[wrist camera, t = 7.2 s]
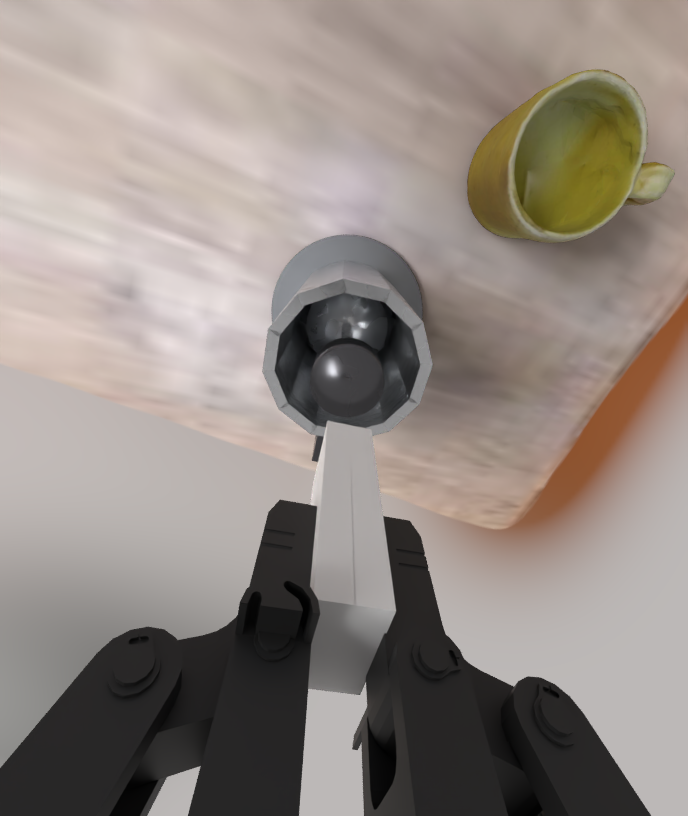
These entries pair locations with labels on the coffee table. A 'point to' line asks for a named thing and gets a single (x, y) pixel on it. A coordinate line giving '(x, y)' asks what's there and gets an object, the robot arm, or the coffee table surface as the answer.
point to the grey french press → (398, 356)
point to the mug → (565, 161)
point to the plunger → (347, 353)
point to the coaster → (346, 250)
